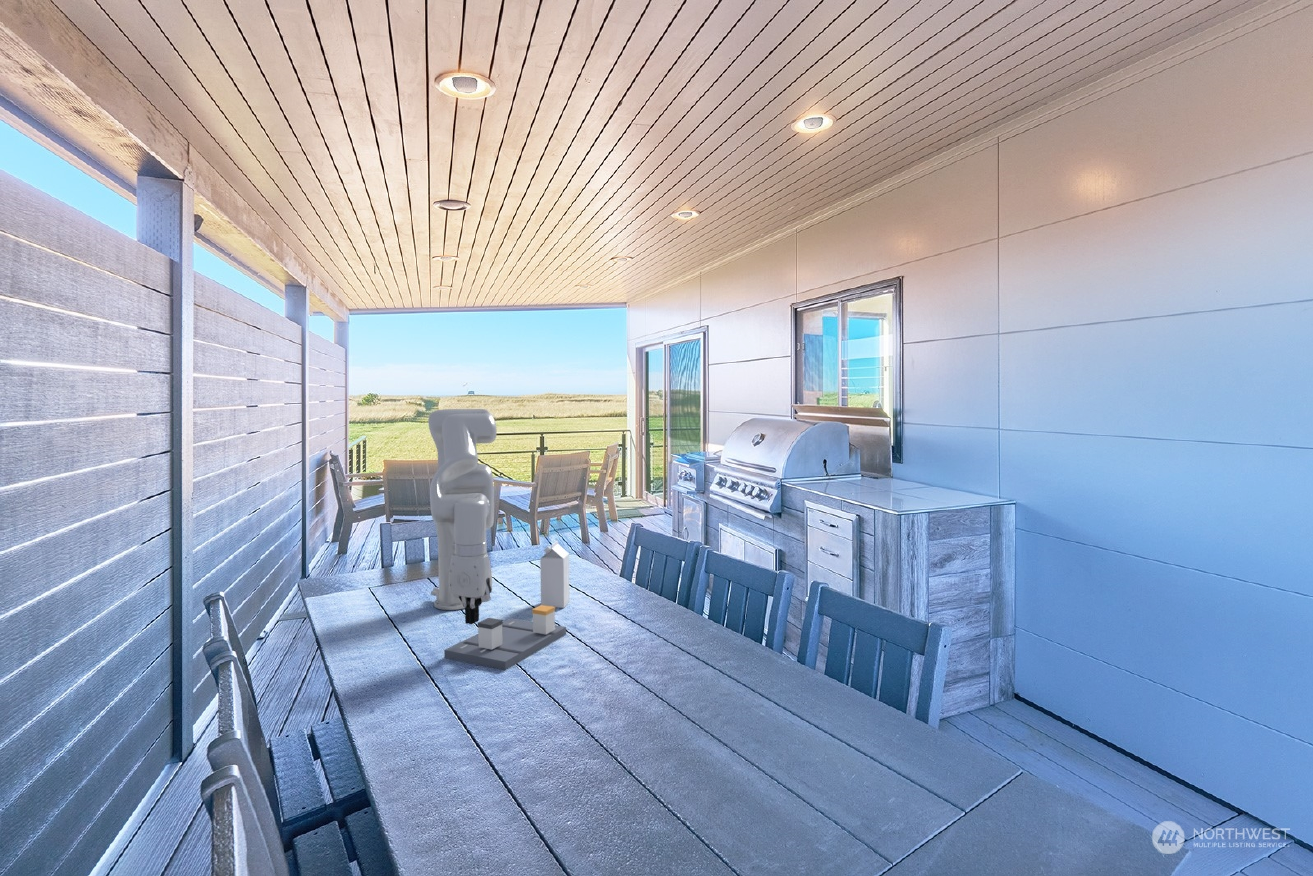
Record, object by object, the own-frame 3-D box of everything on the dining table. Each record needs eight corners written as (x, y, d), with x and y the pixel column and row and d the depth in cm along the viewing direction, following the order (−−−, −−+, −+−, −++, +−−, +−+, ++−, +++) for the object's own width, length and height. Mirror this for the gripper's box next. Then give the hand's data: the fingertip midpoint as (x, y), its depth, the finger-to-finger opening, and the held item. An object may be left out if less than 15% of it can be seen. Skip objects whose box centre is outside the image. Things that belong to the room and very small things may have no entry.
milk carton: (569, 601, 209) (568, 540, 208) (564, 608, 202) (563, 545, 201) (547, 600, 210) (546, 540, 209) (540, 608, 203) (539, 545, 202)
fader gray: (478, 647, 164) (477, 622, 164) (489, 641, 168) (488, 617, 168) (492, 649, 163) (491, 625, 162) (503, 644, 166) (502, 620, 166)
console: (444, 658, 164) (444, 649, 164) (510, 625, 187) (510, 617, 187) (505, 670, 156) (505, 661, 156) (566, 634, 180) (566, 626, 180)
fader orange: (532, 632, 174) (532, 609, 174) (541, 627, 178) (541, 605, 178) (546, 634, 173) (545, 611, 172) (555, 629, 177) (555, 606, 176)
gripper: (436, 549, 166) (437, 622, 168) (485, 556, 160) (486, 632, 161) (457, 542, 173) (458, 613, 174) (505, 549, 167) (506, 622, 168)
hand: (472, 622), depth 168 cm, fingers closed
